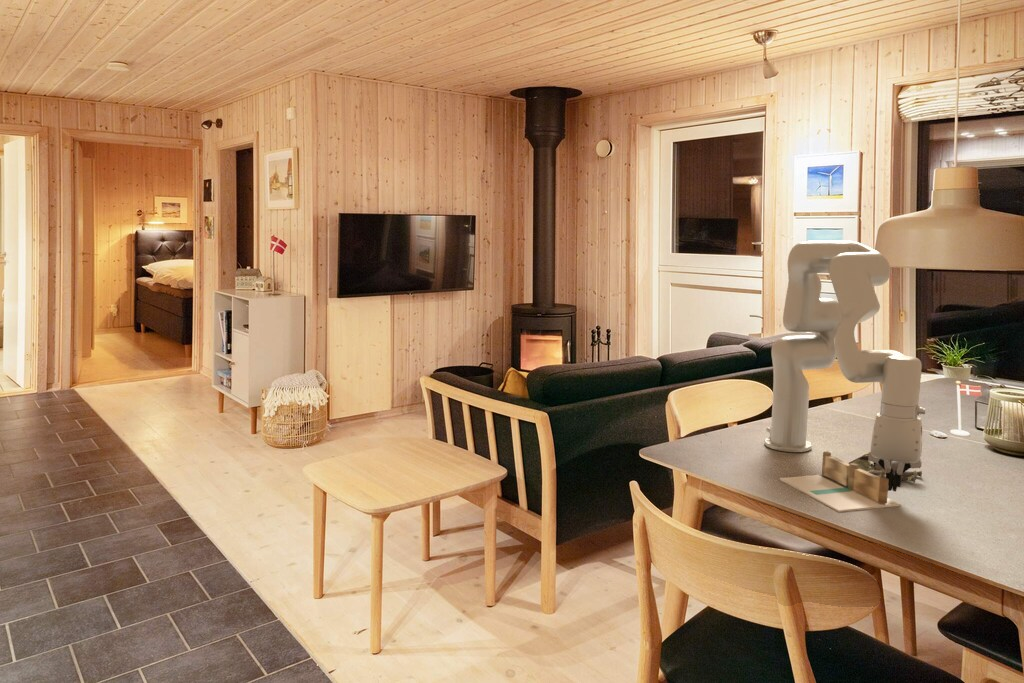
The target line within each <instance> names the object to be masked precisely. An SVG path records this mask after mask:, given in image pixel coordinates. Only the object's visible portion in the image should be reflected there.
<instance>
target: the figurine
mask: <svg viewBox="0 0 1024 683" xmlns="http://www.w3.org/2000/svg"><path fill="white" fill-rule="evenodd" d="M870 453H871V451H869V452H868V453H865V454H863V455H861V456H859V457H857V458H855V459H852V461H850V462H848V463H849V464H850V463H854V464H858V465H859V466H858V469H862V470H864V471H867V472H869V473H871V474H873V475H876V476H878V477H880V478H886V472H885V470H884V469H883V468H882V467H881V466H880V465H879V464H878V463H874V462H872V461H869V456H870ZM905 463H906V462H905ZM898 464H899V461H892V460H891V465H892V468H893V471H894V472H895V470H896V469H897V468H898ZM921 464H922V461H921ZM922 474H923V471H922V470H920V471H918V470H913V471H910V470H907V471H905V472H904V473H902V474H901V481H905V482H906V481H909V482H910V483H913V484H915V483H916V480H917V479H918V478H917V477H920V478H922V476H923V475H922ZM893 478H894V477H893Z"/></svg>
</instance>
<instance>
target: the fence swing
mask: <svg viewBox="0 0 1024 683" xmlns="http://www.w3.org/2000/svg"><path fill="white" fill-rule="evenodd" d="M888 483H889V479H887V478H880V477H878V476H876V474H875V475H874V473H869V472H867V471H864V470H862V469H855V472H854V486H853V490H855V491H857V492H859V493H861V494H863V495H865V496H867V497H869V498H871V499H873V500H875V501H877V502H879V503H882V504H886V503H887V498H888V493H889V492H888V491H889V490H888Z"/></svg>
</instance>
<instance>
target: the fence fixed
mask: <svg viewBox="0 0 1024 683" xmlns="http://www.w3.org/2000/svg"><path fill="white" fill-rule="evenodd" d="M821 463H822V464H821V467H822V468H821V475H822V476H823V477H829V478H831V479H833V480H835V481H837V482H839V483H841V484H843V485H845V486H848V488H847V489H849V490H852V491H855V490H853V486H854V472H855V469H858V466H859V465H858V464H854V463H850V464H849V462H846V461H844V460H842V459H840V458H838V457H835V456H833V455H832V452H830V451H823V452H822V462H821Z"/></svg>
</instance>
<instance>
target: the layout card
mask: <svg viewBox="0 0 1024 683" xmlns="http://www.w3.org/2000/svg"><path fill="white" fill-rule="evenodd" d="M779 481H781V482H783V483H785V484H786V485H788V486H790V487H792V488H794V489H795V490H797V491H799V492H801V493H803V494H805V495H806V496H808V497H810V498H813V499H814V500H816V501H818V502H820V503H821V504H822V505H824V506H826V507H829V508H830V509H833V511H835V512H838V513H843V512H845V513H846V512H853V511H862V510H872V509H873V510H874V509H881V508H883V509H884V508H891V507H900V506H901V503H900V502H897V501H895V500H893V499H891V498H889V497H887V503H886V504H882V503H879V502H877V501H875V500H873V499H871V498H869V497H867V496H865V495H863V494H861V493H859V492H857V491H852V490H849V489H847V488H848V486H845V485H843V484H841V483H839V482H837V481H835V480H833V479H831V478H829V477H823V476H822V474H815V475H804V476H803V475H801V476H793V477H792V476H790V477H780V478H779Z"/></svg>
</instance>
